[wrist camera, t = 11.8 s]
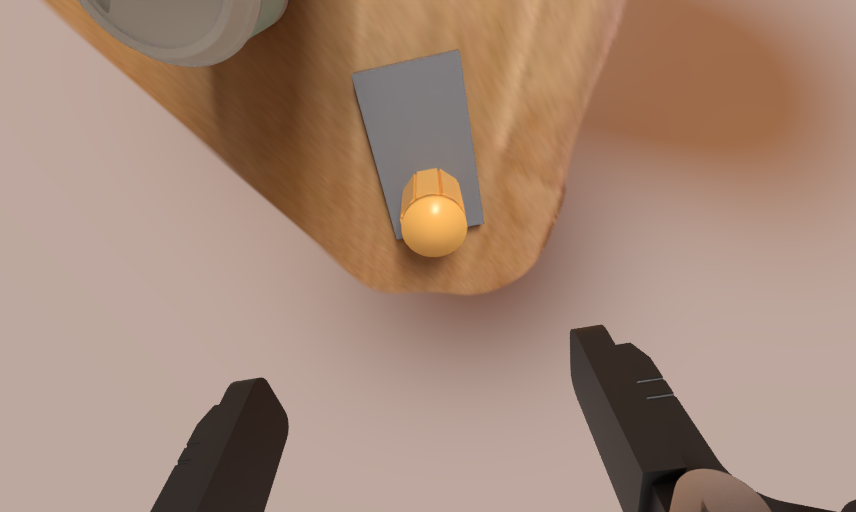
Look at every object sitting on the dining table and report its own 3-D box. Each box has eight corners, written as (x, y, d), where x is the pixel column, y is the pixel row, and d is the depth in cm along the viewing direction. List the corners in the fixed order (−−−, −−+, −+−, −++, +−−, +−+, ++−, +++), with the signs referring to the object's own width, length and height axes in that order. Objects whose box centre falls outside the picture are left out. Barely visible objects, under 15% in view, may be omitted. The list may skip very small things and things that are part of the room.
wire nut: (398, 175, 33) (394, 205, 28) (455, 164, 33) (462, 192, 28) (410, 226, 36) (409, 262, 31) (464, 216, 35) (471, 251, 30)
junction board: (354, 72, 31) (343, 82, 26) (458, 49, 30) (464, 55, 26) (397, 231, 38) (394, 260, 34) (482, 216, 37) (490, 243, 33)
